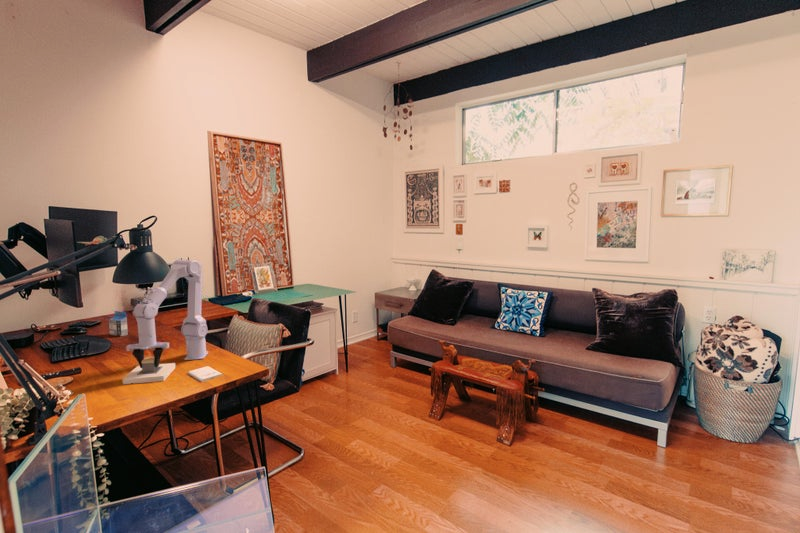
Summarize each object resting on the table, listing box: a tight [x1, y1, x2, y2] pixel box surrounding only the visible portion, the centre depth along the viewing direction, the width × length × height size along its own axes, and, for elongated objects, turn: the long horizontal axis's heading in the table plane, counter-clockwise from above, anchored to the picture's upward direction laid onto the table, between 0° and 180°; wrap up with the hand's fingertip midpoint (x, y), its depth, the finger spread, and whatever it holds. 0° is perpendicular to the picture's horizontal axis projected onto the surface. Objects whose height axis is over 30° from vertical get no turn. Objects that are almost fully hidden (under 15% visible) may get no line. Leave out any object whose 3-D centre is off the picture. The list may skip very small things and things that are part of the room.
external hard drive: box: [187, 365, 223, 383], centre depth 162 cm, size 2×8×12 cm
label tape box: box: [108, 310, 129, 337], centre depth 214 cm, size 9×4×12 cm, turn 71°
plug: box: [142, 356, 158, 373], centre depth 160 cm, size 4×4×7 cm
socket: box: [122, 362, 177, 385], centre depth 160 cm, size 14×14×2 cm
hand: (149, 366), depth 160 cm, fingers open, 5 cm apart
